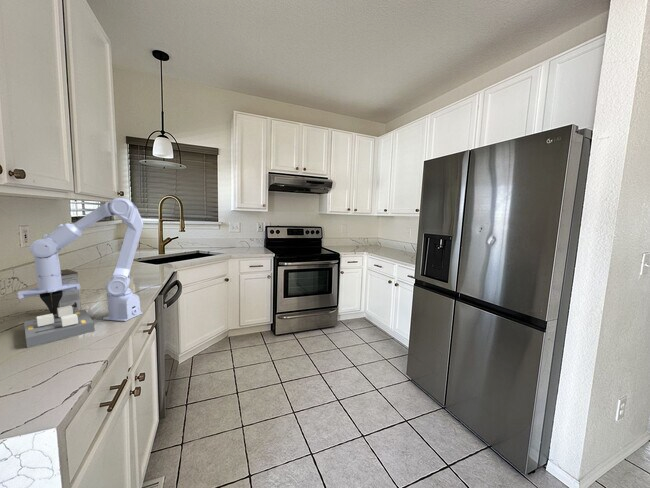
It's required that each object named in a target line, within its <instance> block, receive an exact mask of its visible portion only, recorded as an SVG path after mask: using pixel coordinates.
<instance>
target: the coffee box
mask: <svg viewBox="0 0 650 488" xmlns="http://www.w3.org/2000/svg"><path fill="white" fill-rule="evenodd" d="M60 270H61V278H62V285H64V284H74V283H80V282H79V271H75V270H71V269H68V268H67V269H60ZM62 293H63V296H62V298H61V300H60V302H59V304H58V308H60V307H65V306H72V307H73V312H74V311H79V310H82V306H81V305H82V304H81V303H82V302H81V295H80V294H81V291H80V289H78V290H76V289H75V290H69V291H63V292H62ZM50 294H51V293H50ZM51 299H52V294H51ZM52 307H53V301H52ZM55 315H58V312H57V314H55Z"/></svg>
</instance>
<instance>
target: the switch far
mask: <svg viewBox="0 0 650 488" xmlns="http://www.w3.org/2000/svg"><path fill="white" fill-rule="evenodd" d="M57 312H58V316H59V317H62V316H66V315H71V314H73V307H72V306H65V307H60V308H57Z"/></svg>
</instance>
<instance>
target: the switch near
mask: <svg viewBox="0 0 650 488" xmlns="http://www.w3.org/2000/svg"><path fill="white" fill-rule="evenodd" d="M77 323H78V316H77V314H71V315H66V316H62V317H61V324H62V326H63V327H64V326H69V325H73V324H77Z"/></svg>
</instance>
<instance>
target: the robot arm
mask: <svg viewBox="0 0 650 488" xmlns="http://www.w3.org/2000/svg"><path fill="white" fill-rule="evenodd" d="M112 216H113V217H114V216H117V217H118V218H119V219H121V220H122V222H123V223H124V224H125V225H126V227H127V228H126V230H125V234H124V238H123V241H122V244H121V247H120V250H119V255H118V257H117V262H116V265H115V267H114V271H113V272H112V273H113V274H112V277H111V278H110V280H109V281H107V283H106V284H105V290H106V292H107V294H106V296H107V297H106V298H107V308H108V309H107V310H108V315H107V316H104V317H102V321H103V320H104V321H106V320H107V321H118V322H127V321H129V320H131V319H134V318H135V317H138V316H140V315H142V314H143V311H142V310H141V300H140V296H139V295H138V294H135V293H133V292H132V289H130V287H129V286H130V285H131V278H130V274H131V269H132V266H133V262H134V259H135V256H136V252H137V248H138V245H139V243H140V242H139V241H140V238H141V235H142V231H143V228H144V221H143V219H142V215H141V214H140V211H139V209H138V207H137V206H136V205H135V204H134V202H133V201H132V200H129V199H127V198H123V197H117V198H113V199H112V200H110V201H108V202H106V203H104V204H102V205H100V206H98V207H97V208H96V207H95V209H93V210H92V211H90V212H89V213H87V214H86V215H84V216H83V217H81V218H80V219H79V220H77V221H75V222H74V223H65V224H63V223H60V224H59V225H57V226H56V227H57V228H56V229H55V230H53V231H51V232H50V233H48V234H47V233H46V234H44V235H42V237H43V238H42V239H36V240H34V241H33V243H31V244H30V246H29V251H30V253H31V255H33V258H34V269H35V274H36V283H37V288H31V289H26V290H21V291H17V298H18V300H21V299H22V300H23V299H25V298H29V297H30V298H31V297H37V296H39V298H40V299H41V301H43V303H44V304H45V306H46V307H47V308H48V310H49V314H52V313H53V316H54V315H56V314H57V308H58V304H59V302H60V300H61V298H62V296H63V293H62V292H63V291H69V290H75V289H76V290H78V289H79V290H81V284H80V282H79V283H74V284H64V285H62V278H61V270H62V269H61V261H60V259H59V258H60V256H59V252H61V250H62V249H65V247H67V246H69V245H70V244H72V243H73V242H75V241H76V240H79V238H81V237H82V235H83V231H84V230H85V229H87V228H89V227H91V226H92V225H94V224H95V223H97V222H99V221H101V220H102V219H104V218H107V217H112ZM50 293H51V294H52V299H51V294H50ZM52 301H53V307H52Z"/></svg>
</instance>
